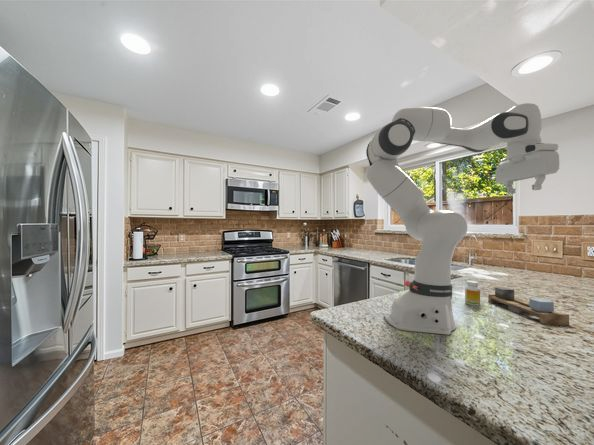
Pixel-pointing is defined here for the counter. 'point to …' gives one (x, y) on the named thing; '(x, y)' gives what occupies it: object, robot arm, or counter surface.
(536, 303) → the block
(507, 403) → the counter surface
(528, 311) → the beam
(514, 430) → the counter surface
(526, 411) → the counter surface
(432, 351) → the counter surface
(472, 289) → the supplement bottle
